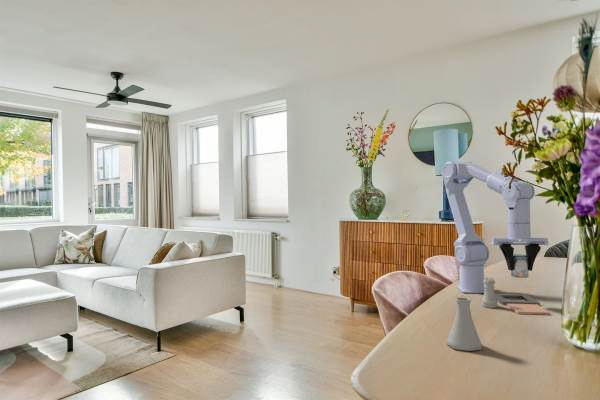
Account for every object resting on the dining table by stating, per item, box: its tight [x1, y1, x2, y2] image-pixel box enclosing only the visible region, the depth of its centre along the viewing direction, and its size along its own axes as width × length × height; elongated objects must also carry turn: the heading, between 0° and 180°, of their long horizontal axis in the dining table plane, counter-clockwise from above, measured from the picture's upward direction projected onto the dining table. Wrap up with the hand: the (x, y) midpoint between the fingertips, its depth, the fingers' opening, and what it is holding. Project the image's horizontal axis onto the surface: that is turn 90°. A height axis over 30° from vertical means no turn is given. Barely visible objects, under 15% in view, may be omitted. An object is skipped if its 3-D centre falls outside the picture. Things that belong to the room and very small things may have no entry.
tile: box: [506, 304, 551, 316], centre depth 108 cm, size 8×8×1 cm
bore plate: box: [494, 293, 541, 306], centre depth 118 cm, size 10×10×1 cm
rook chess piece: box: [480, 277, 499, 309], centre depth 113 cm, size 4×4×8 cm
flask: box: [446, 296, 483, 352], centre depth 84 cm, size 7×7×10 cm
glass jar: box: [510, 253, 530, 279], centre depth 114 cm, size 5×5×6 cm
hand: (519, 270), depth 114 cm, fingers closed on glass jar, 4 cm apart
